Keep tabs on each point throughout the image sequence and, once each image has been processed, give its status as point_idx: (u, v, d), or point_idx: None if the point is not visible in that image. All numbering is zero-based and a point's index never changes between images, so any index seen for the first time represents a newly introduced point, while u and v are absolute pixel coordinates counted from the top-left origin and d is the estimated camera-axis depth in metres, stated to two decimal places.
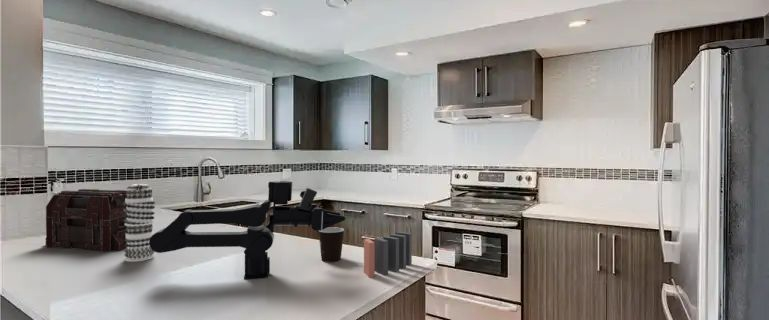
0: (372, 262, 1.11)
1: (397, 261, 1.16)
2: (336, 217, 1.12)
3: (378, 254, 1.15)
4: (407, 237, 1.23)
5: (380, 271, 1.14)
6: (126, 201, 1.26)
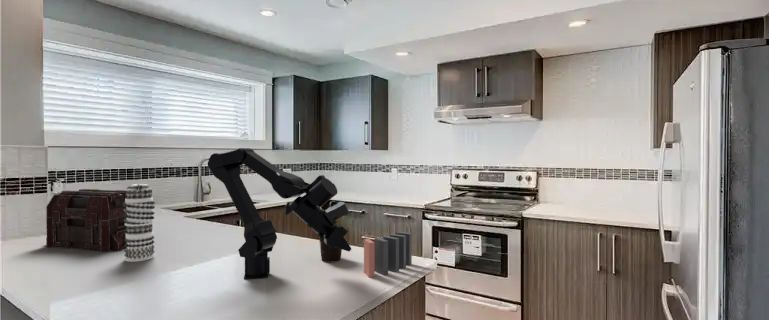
0: (372, 262, 1.11)
1: (397, 261, 1.16)
2: (345, 243, 1.09)
3: (378, 254, 1.15)
4: (407, 237, 1.23)
5: (380, 271, 1.14)
6: (126, 201, 1.26)
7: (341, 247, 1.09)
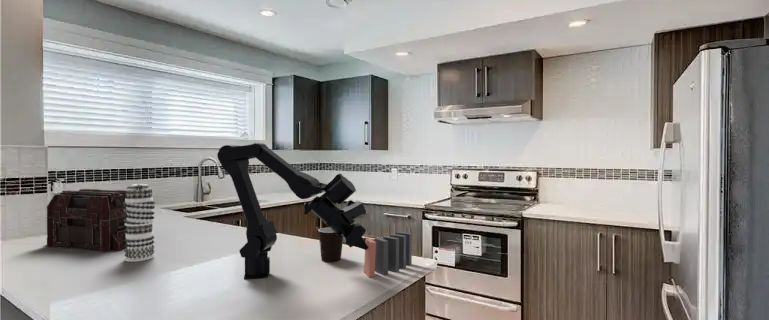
0: (373, 262, 1.11)
1: (397, 261, 1.16)
2: (362, 242, 1.11)
3: (378, 254, 1.15)
4: (407, 237, 1.23)
5: (380, 271, 1.14)
6: (126, 201, 1.26)
7: (358, 246, 1.11)
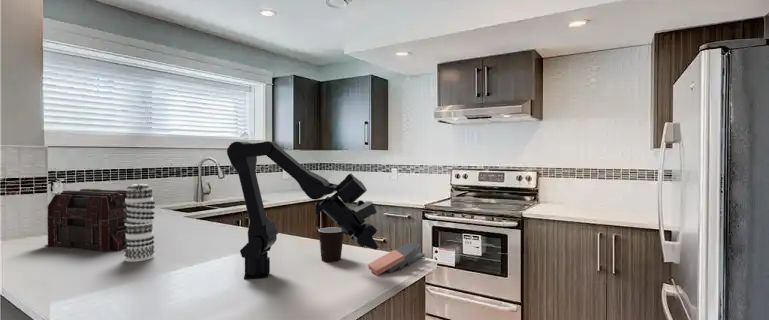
0: (388, 267, 1.14)
1: (405, 261, 1.20)
2: (372, 242, 1.12)
3: None
4: (421, 254, 1.32)
5: None
6: (126, 201, 1.26)
7: (368, 245, 1.12)
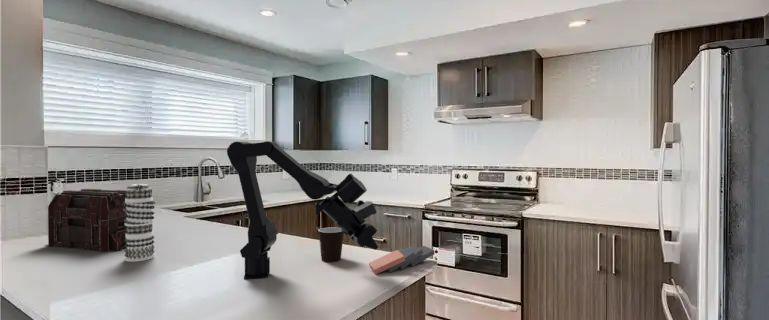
0: (388, 266, 1.15)
1: (408, 262, 1.20)
2: (372, 242, 1.12)
3: None
4: None
5: None
6: (126, 201, 1.26)
7: (368, 245, 1.12)
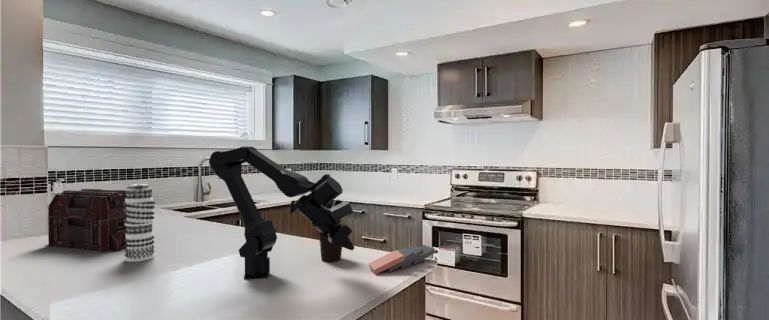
0: (387, 266, 1.15)
1: (408, 262, 1.20)
2: (348, 242, 1.10)
3: None
4: None
5: None
6: (126, 201, 1.26)
7: (344, 246, 1.10)
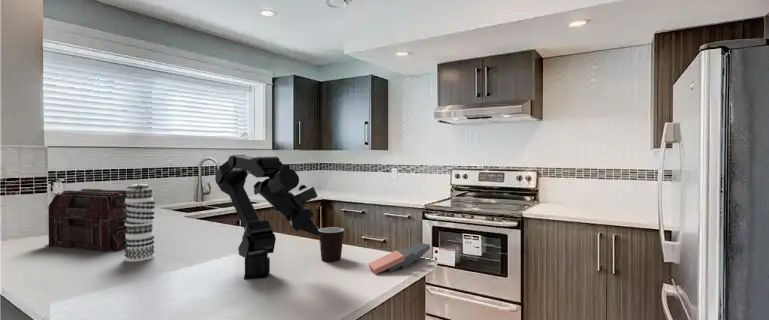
0: (387, 266, 1.15)
1: (409, 261, 1.20)
2: (313, 227, 1.09)
3: None
4: None
5: None
6: (126, 201, 1.26)
7: (309, 231, 1.08)
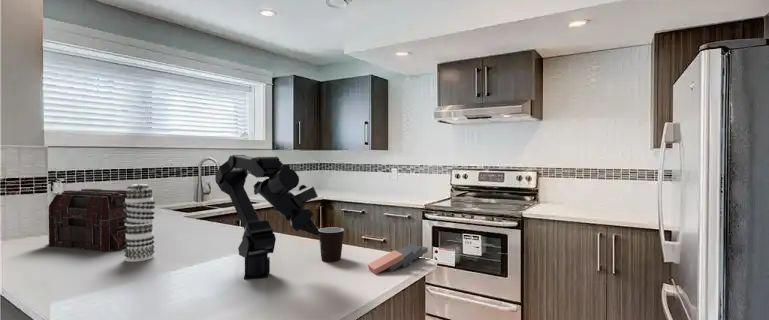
0: (387, 265, 1.15)
1: (409, 260, 1.21)
2: (313, 227, 1.09)
3: None
4: None
5: None
6: (126, 201, 1.26)
7: (309, 231, 1.08)
